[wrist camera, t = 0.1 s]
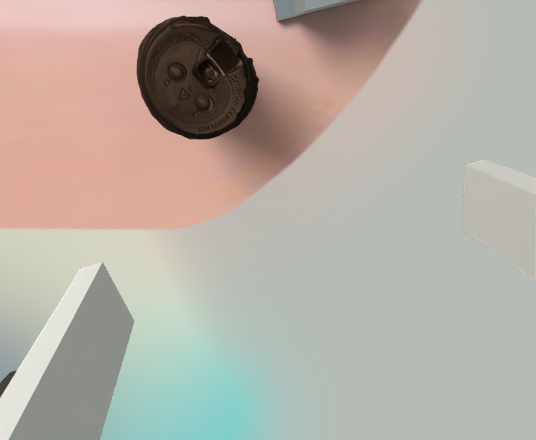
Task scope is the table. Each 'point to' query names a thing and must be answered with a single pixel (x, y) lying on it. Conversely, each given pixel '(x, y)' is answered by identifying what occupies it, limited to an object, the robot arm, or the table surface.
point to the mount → (304, 7)
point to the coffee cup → (195, 78)
